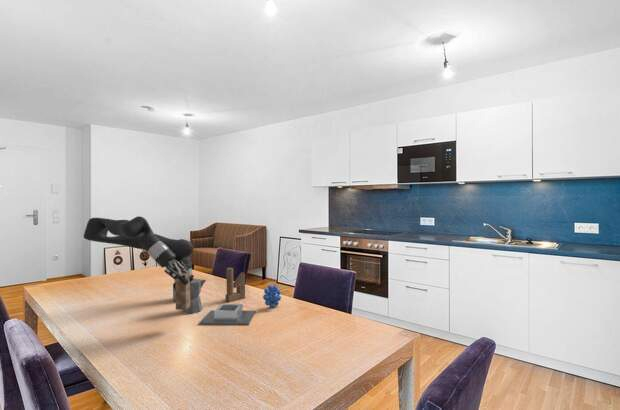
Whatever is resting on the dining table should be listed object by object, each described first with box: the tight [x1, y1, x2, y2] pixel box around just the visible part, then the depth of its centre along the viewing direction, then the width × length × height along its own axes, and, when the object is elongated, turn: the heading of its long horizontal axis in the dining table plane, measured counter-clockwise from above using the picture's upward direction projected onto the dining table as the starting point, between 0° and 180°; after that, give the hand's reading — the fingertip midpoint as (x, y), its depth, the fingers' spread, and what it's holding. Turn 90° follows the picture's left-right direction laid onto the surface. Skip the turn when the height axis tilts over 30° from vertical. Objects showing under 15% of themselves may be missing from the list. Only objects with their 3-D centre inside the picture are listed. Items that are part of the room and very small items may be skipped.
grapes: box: [262, 284, 282, 309], centre depth 173 cm, size 12×7×12 cm, turn 138°
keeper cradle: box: [199, 303, 256, 326], centre depth 159 cm, size 22×16×5 cm
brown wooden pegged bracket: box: [224, 267, 246, 303], centre depth 188 cm, size 4×11×18 cm, turn 137°
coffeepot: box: [172, 274, 207, 315], centre depth 169 cm, size 15×9×18 cm, turn 110°
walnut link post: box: [175, 272, 190, 311], centre depth 147 cm, size 4×4×15 cm
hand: (189, 282), depth 147 cm, fingers closed on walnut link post, 4 cm apart
